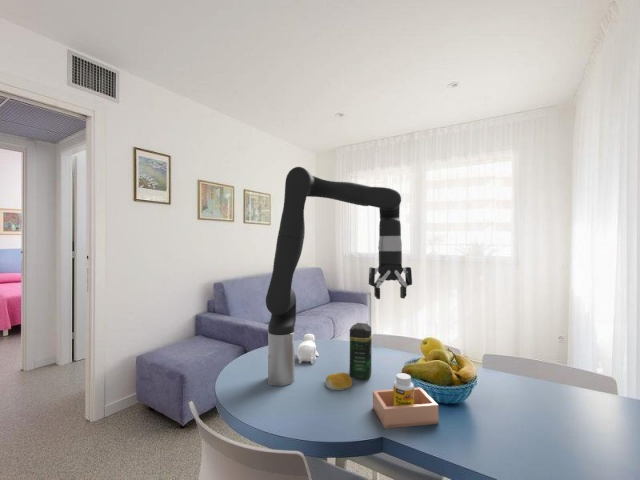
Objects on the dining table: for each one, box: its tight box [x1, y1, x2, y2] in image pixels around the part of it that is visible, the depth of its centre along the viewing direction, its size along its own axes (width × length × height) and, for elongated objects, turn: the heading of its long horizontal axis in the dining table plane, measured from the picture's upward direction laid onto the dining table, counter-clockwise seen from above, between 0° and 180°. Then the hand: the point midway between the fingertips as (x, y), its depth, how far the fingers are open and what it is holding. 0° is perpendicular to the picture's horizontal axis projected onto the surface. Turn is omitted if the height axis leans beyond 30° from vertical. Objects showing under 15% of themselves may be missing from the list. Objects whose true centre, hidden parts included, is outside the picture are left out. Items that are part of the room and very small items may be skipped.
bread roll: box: [324, 372, 353, 391], centre depth 103 cm, size 8×9×4 cm
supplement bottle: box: [393, 372, 415, 406], centre depth 84 cm, size 6×6×10 cm
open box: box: [372, 387, 439, 429], centre depth 84 cm, size 15×10×5 cm, turn 98°
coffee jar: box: [349, 322, 373, 381], centre depth 111 cm, size 10×8×19 cm
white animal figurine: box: [296, 333, 319, 365], centre depth 128 cm, size 9×8×15 cm
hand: (390, 298), depth 100 cm, fingers open, 8 cm apart
